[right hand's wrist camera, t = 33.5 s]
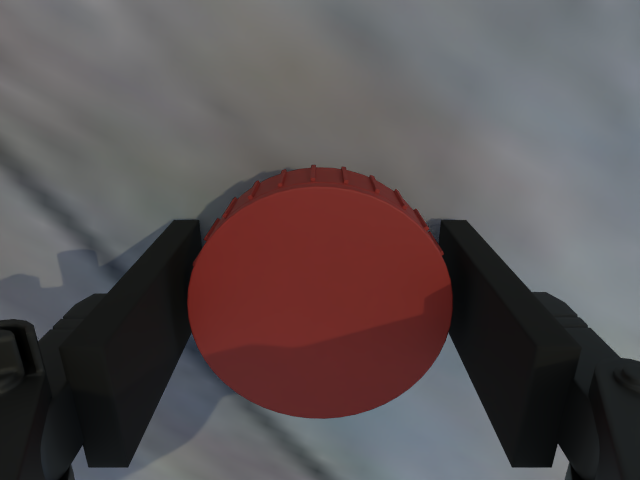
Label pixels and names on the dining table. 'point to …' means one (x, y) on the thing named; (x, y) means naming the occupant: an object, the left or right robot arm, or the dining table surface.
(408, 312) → the lid
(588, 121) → the dining table surface
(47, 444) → the right robot arm
